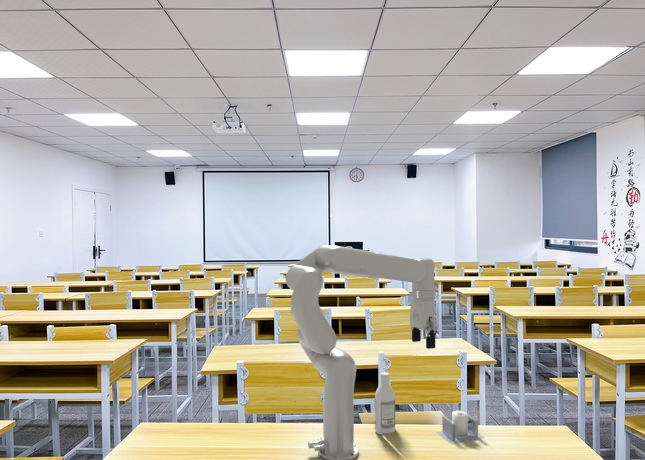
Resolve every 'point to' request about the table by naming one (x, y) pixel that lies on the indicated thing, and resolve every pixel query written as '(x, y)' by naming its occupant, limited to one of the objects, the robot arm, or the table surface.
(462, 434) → the roll
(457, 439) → the holder
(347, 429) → the robot arm
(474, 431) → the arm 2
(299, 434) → the table surface
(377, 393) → the bath foam
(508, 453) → the table surface
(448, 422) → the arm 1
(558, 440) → the table surface
